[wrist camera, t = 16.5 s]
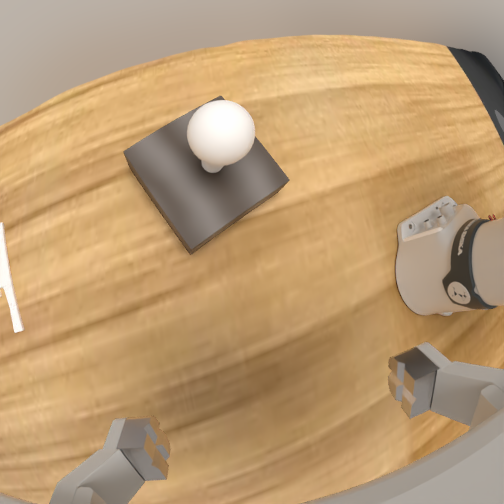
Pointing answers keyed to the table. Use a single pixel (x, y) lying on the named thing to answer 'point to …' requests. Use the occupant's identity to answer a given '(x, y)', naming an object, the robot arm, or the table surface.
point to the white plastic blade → (8, 283)
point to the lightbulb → (220, 134)
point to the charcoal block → (200, 183)
